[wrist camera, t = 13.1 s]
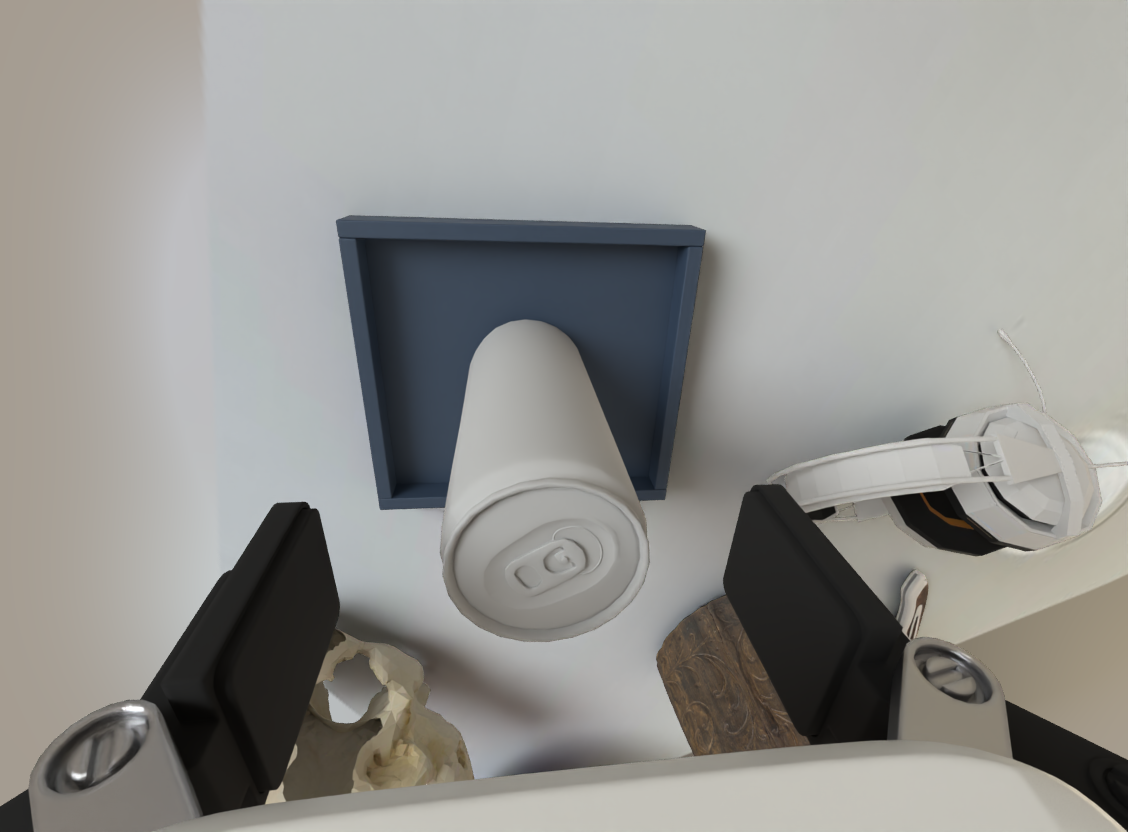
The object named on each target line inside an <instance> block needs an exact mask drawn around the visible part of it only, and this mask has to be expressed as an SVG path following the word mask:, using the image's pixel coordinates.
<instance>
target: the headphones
mask: <svg viewBox="0 0 1128 832" xmlns="http://www.w3.org/2000/svg"><path fill="white" fill-rule="evenodd" d="M997 333H998V334H999V335H1000V336H1001V337H1002V338H1003V339H1004V340H1005V341H1006V342H1007V343H1009V344H1010V346H1011V347H1012V348H1013V349H1014V350H1015V352H1016V353H1017V355H1018V356H1019V357H1020V359H1021V360H1022V362H1023V363H1024V365H1025V367H1026V368H1027V370H1028V372H1029V374H1030V375H1031V377H1032V379H1033V381H1034V383H1035V385H1036V387H1037V390H1038V392H1039V395H1040V399H1041V402H1042V408H1043V412H1042V411H1038V410H1036V409H1035V408H1033V407H1032V406H1031V405H1030V404H1029V403H1016V404H1007V405H1000V406H994V407H988V408H984V409H980V410H977V411H974V412H971V413H968V414H965V415H962V416H959V417H956V418H953V419H951V420H949V422H948V423H947V425H946V426H941V425H940V426H937V427H934V428H931V429H928V430H925V431H922V432H919V433H916V434H913V435H910V436H908V437H907V438H905V439H904V440H903V441H900V442H893V443H888V444H882V445H877V446H871V447H866V448H861V449H857V450H853V451H848V452H843V453H838V454H833V455H828V456H825V457H821V458H817V459H814V460H810V461H806V462H803V463H799V464H795V465H793V466H790V467H788V468H786V469H783V470H781V471H779V472H776V473H775V474H774V475H772V476H771V477H770V478H768V479H767V480H766V482H767V484H768V485H770V484H772V482H773V481H774V480H775V479H777V478H778V477H780V476H782V475H785V474H786V477H785V484H786V490H787V492H788V493H789V494H790V495H791V496H792V498H793V499H794V500H795V501H796V502H797V503H798V505H799V506H800V507H801V508H802V509H803V510H804V512H805V513H806V514H807V515H808V516H809V517H810V519H811V520H812V521H813V522H814V523H818V524H822V523H824V522H830V521H847V520H857V522H861V521H865V520H869V519H873V518H877V517H881V516H885V515H889V514H890V516H891V518H892V520H893V521H894V523H895V525H896V526H897V527H898V528H899V529H901V530H902V531H904V532H905V533H906V534H908V535H909V536H910V537H912V538H913V539H914V540H916V541H917V542H919V543H920V544H921V545H923V546H924V547H929V548H935V549H940V550H945V551H950V552H955V553H960V554H966V555H971V556H983V555H985V554H988V553H991V552H994V551H997V550H999V549H1002V548H1005V547H1011V548H1015V549H1019V550H1023V551H1034V550H1038V549H1041V548H1044V547H1047V546H1050V545H1053V544H1056V543H1060V542H1063V541H1066V540H1068V539H1071V538H1074V537H1077V536H1079V535H1080V534H1081V533H1084V532H1086V531H1088V530H1091V529H1092V526H1093V524H1094V521H1095V519H1096V516H1097V514H1098V511H1099V509H1100V506H1101V504H1102V498H1101V493H1100V488H1099V483H1098V478H1097V473H1096V468H1099V467H1111V466H1123V465H1128V462H1119V463H1107V464H1093V463H1092V462H1091V460H1090V459H1089V457H1088V455H1087V454H1086V452H1085V451H1084V449H1083V448H1082V446H1081V445H1080V443H1079V442H1078V440H1077V439H1076V437H1075V436H1074V435H1073V434H1072V433H1071V432H1069V431H1068V430H1067V429H1066V428H1064V427H1063V426H1062V425H1060V424H1059V423H1058V422H1056V421H1055V420H1054V419H1053V418H1051V417H1050V416H1049V415H1047V412H1046V406H1045V401H1044V397H1043V393H1042V391H1041V388H1040V386H1039V384H1038V382H1037V380H1036V378H1035V376H1034V374H1033V372H1032V371H1031V369H1030V367H1029V365H1028V364H1027V362H1026V361H1025V359H1024V358H1023V356H1022V355H1021V353H1020V352H1019V351H1018V349H1017V348H1016V347H1015V346H1014V344H1013V343H1012V342H1011V340H1010V338H1009V337H1008V335H1007V334H1006V333H1005V332H1004V331H1003V330H1002V329H1001V330H999V331H997ZM787 473H788V474H787ZM851 502H852V503H853V505H852V506H849V507H847V508H844V509H841V510H839V511H838V509H837V505H841V504H846V503H851ZM851 507H854V511H855V515H856V516H851V517H835V516H837V515H839V513H838V512H840V511H843V510H845V509H848V508H851Z"/></svg>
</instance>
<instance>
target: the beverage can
mask: <svg viewBox="0 0 1128 832" xmlns="http://www.w3.org/2000/svg"><path fill="white" fill-rule="evenodd" d="M440 555H441V559H442V562H443V579H444V582H445V585H446V588H447V592H448V595H449V597H450V598H451V600H452V601H453V603H454V604H455V605H456V607H457V608H458V610H459V611H460V612H461V614H462V615H464V616H465V617H466V618H468V619H469V620H470V621H471V622H473V623H474V624H475V625H477V626H478V627H480V628H482V629H484V630H486V631H488V632H491V633H493V634H495V635H497V636H500V637H504V638H509V639H514V640H519V641H527V642H550V641H556V640H561V639H567V638H573V637H575V636H578V635H581V634H584V633H586V632H589V631H592V630H595V629H597V628H598V627H600V626H602V625H603V624H605V623H606V622H608V621H610V620H611V619H613V618H615V617H616V616H617V615H618V614H619V613H620V612H621V611H622V610H624V609H625V608H626V607H627V606H628V605H629V604H630V603H631V602H632V601H633V599H634V598H635V596H636V595H637V593H638V591H639V590H640V588H641V587H642V585H643V583H644V580H645V577H646V573H647V570H648V567H649V563H650V559H649V541H648V539H647V524H646V518H645V515H644V512H643V510H642V507H641V505H640V502H639V500H638V497H637V495H636V492H635V490H634V487H633V485H632V482H631V480H630V477H629V475H628V473H627V470H626V468H625V465H624V463H623V460H622V458H621V455H620V453H619V450H618V448H617V445H616V443H615V440H614V438H613V435H612V433H611V431H610V428H609V426H608V423H607V421H606V418H605V416H604V413H603V411H602V408H601V406H600V403H599V401H598V398H597V396H596V393H595V391H594V388H593V386H592V384H591V381H590V379H589V376H588V374H587V371H586V369H585V366H584V364H583V361H582V359H581V356H580V354H579V351H578V349H577V347H576V346H575V344H574V343H573V342H572V340H571V339H570V338H569V337H568V336H567V335H566V334H565V333H563V332H562V331H561V330H559V329H558V328H557V327H555V326H552V325H550V324H547V323H545V322H542V321H535V320H527V319H525V320H518V321H511V322H508V323H506V324H504V325H501V326H499V327H497V328H495V329H494V330H493V331H492V332H491V333H490V334H488V335H487V336H486V337H485V338H484V339H483V341H482V342H481V344H480V345H479V347H478V348H477V350H476V351H475V354H474V356H473V358H472V361H471V363H470V368H469V374H468V380H467V386H466V393H465V399H464V405H463V411H462V416H461V422H460V428H459V433H458V438H457V444H456V449H455V454H454V460H453V465H452V470H451V476H450V481H449V487H448V493H447V498H446V504H445V510H444V516H443V522H442V530H441V547H440Z"/></svg>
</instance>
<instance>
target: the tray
mask: <svg viewBox="0 0 1128 832" xmlns="http://www.w3.org/2000/svg"><path fill="white" fill-rule="evenodd" d="M336 224H337V231H338V236H339V244H340V251H341V257H342V264H343V270H344V277H345V284H346V290H347V297H348V303H349V310H350V316H351V323H352V329H353V336H354V342H355V349H356V356H357V362H358V369H359V375H360V382H361V388H362V395H363V401H364V408H365V415H366V421H367V428H368V434H369V441H370V447H371V454H372V460H373V467H374V473H375V480H376V487H377V493H378V498H379V499H378V500H379V507H380V510H389V509H417V508H445V504H446V498H447V493H448V487H449V481H450V476H451V470H452V465H453V460H454V454H455V449H456V444H457V438H458V433H459V428H460V422H461V416H462V411H463V405H464V399H465V393H466V386H467V380H468V374H469V368H470V363H471V361H472V358H473V356H474V354H475V351H476V350H477V348H478V347H479V345H480V344H481V342H482V341H483V339H484V338H485V337H486V336H487V335H488V334H490V333H491V332H492V331H493V330H494V329H495V328H497V327H499V326H501V325H504V324H506V323H508V322H511V321H518V320H525V319H527V320H535V321H542V322H545V323H547V324H550V325H552V326H555V327H557V328H558V329H559V330H561V331H562V332H563V333H565V334H566V335H567V336H568V337H569V338H570V339H571V340H572V342H573V343H574V344H575V346H576V347H577V349H578V351H579V354H580V356H581V359H582V361H583V364H584V366H585V369H586V371H587V374H588V376H589V379H590V381H591V384H592V386H593V388H594V391H595V393H596V396H597V398H598V401H599V403H600V406H601V408H602V411H603V413H604V416H605V418H606V421H607V423H608V426H609V428H610V431H611V433H612V435H613V438H614V440H615V443H616V445H617V448H618V450H619V453H620V455H621V458H622V460H623V463H624V465H625V468H626V470H627V473H628V475H629V477H630V480H631V482H632V485H633V487H634V490H635V492H636V495H637V497H638V500H639V501H645V500H665V497H666V488H667V483H668V476H669V470H670V463H671V456H672V450H673V443H674V437H675V430H676V424H677V417H678V410H679V404H680V397H681V391H682V384H683V378H684V371H685V364H686V358H687V351H688V345H689V338H690V332H691V325H692V318H693V312H694V305H695V299H696V292H697V286H698V279H699V272H700V266H701V259H702V253H703V247H702V246H703V245H704V240H705V234H706V230H704V229H701V228H697V227H694V226H692V225H667V224H632V223H597V222H562V221H527V220H492V219H458V218H423V217H388V216H353V215H349V216H347V217H344V218H341V219H338V220H336Z"/></svg>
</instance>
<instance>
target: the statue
mask: <svg viewBox="0 0 1128 832" xmlns="http://www.w3.org/2000/svg"><path fill="white" fill-rule="evenodd" d="M656 660H657V667H658V670H659V673H660V675H661V678H662V680H663V683H664V686H665V689H666V691H667V694H668V696H669V699H670V701H671V704H672V706H673V708H674V711H675V713H676V715H677V718H678V720H679V722H680V725H681V727H682V730H683V732H684V734H685V736H686V739H687V741H688V743H689V745H690V747H691V750H692V752H693V754H694V756H704V755H715V754H725V753H735V752H745V751H755V750H765V749H775V748H786V747H797V746H809V745H811V744H810V743H809V741H808V739H807V737H806V736H802V735H800V734H799V733H798V732H797V730H796V729H795V727H794V725H793V723H792V721H791V719H790V717H789V715H788V713H787V711H786V710H785V708H784V706H783V704H782V702H781V700H780V698H779V696H778V694H777V692H776V690H775V688H774V686H773V684H772V682H771V680H770V679H769V677H768V675H767V673H766V671H765V669H764V667H763V665H762V663H761V661H760V659H759V657H758V655H757V653H756V651H755V649H754V648H753V646H752V644H751V642H750V640H749V638H748V636H747V634H746V632H745V630H744V628H743V626H742V624H741V622H740V620H739V618H738V616H737V615H736V613H735V611H734V609H733V607H732V605H731V603H730V601H729V599H728V597H727V595H725V596H723V597H721V598H718V599H716V600H713V601H710V602H709V603H707V604H706V606H703V607H701V608H699V609H697V610H696V611H695V612H694V613H693V614H691V615H690V616H688V617H686V618H685V619H683V620H682V621H681V622H680V623H679V625H678V626H677V627H676V629H674V630H673V631H672V632H671V633H670V634H669V635H668V636H667V637H666V639H665V640H664V642H663V645H662V648H661V649H660V650H659V651H658V653H657V656H656Z"/></svg>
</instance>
